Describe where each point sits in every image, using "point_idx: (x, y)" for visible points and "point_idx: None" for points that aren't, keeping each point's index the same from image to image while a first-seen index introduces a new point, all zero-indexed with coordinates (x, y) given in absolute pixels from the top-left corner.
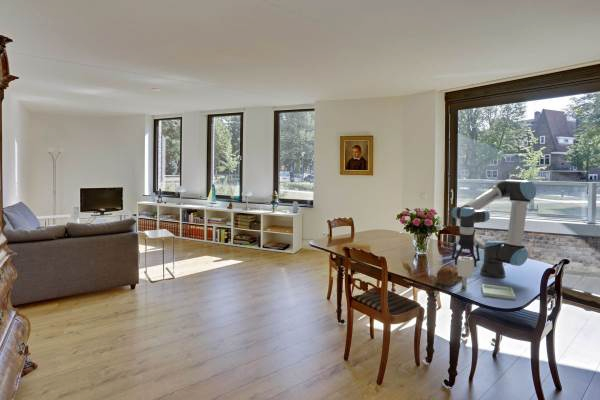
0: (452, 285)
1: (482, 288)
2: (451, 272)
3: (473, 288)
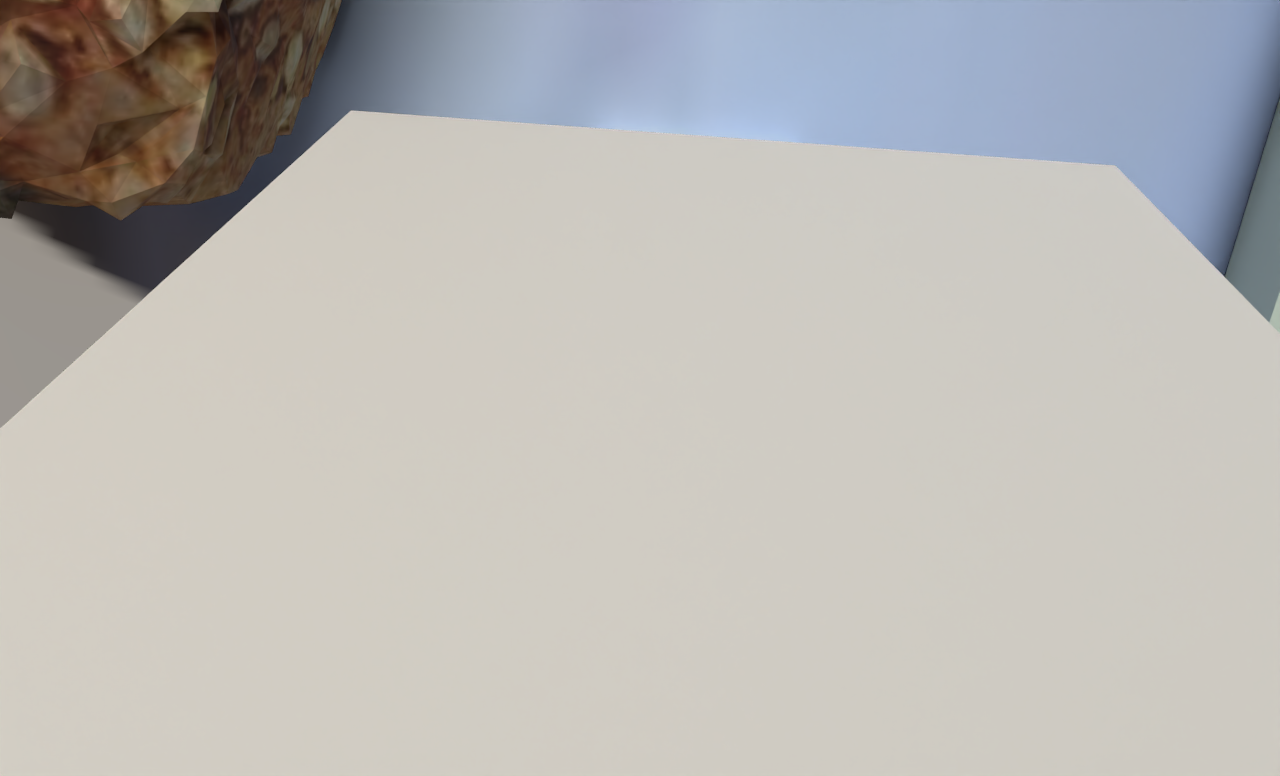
0: (335, 17)
1: (1266, 309)
2: (50, 182)
3: (1016, 45)
